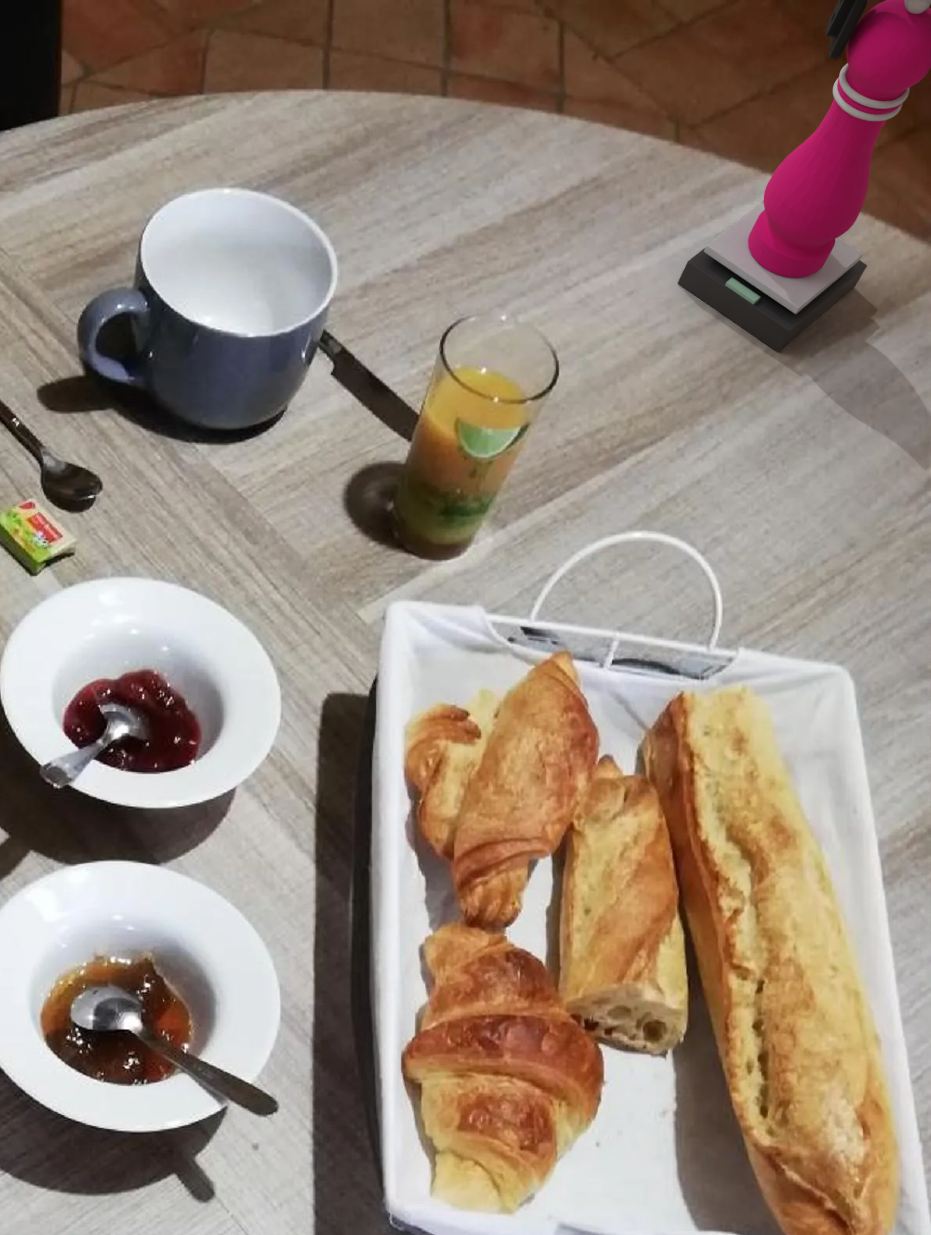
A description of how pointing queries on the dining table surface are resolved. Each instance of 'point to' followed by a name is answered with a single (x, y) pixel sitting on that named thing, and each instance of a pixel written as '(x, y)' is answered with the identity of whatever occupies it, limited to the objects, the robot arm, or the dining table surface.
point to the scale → (767, 285)
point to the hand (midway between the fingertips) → (886, 57)
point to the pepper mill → (842, 142)
